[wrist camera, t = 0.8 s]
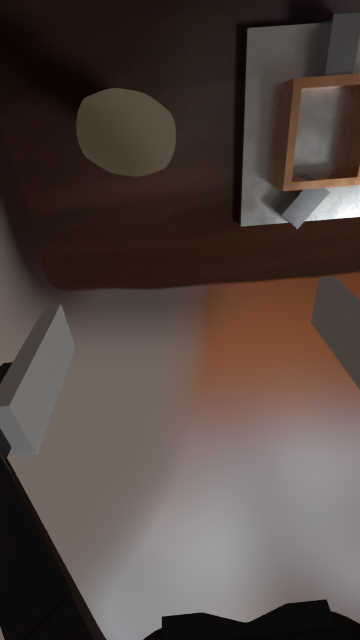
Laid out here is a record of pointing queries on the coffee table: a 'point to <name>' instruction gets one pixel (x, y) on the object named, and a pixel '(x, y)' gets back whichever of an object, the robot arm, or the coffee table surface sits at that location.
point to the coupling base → (301, 122)
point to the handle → (126, 132)
